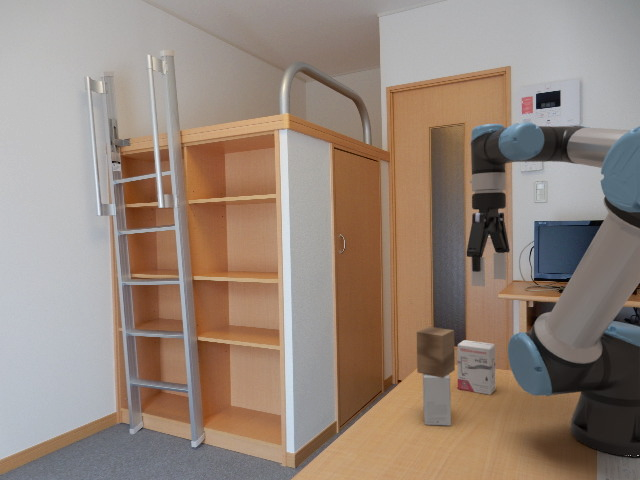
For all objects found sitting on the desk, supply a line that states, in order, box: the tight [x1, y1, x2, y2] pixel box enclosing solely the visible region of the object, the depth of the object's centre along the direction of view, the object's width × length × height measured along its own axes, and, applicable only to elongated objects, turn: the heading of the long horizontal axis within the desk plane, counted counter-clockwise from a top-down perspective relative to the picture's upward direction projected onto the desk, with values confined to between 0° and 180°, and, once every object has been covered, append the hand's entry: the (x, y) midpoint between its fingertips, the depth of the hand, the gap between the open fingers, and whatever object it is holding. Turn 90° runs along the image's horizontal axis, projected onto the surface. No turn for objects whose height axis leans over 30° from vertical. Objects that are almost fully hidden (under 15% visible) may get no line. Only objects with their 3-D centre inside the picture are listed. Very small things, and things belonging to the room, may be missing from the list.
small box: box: [422, 374, 452, 427], centre depth 104 cm, size 8×6×10 cm
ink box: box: [457, 339, 496, 396], centre depth 121 cm, size 9×5×12 cm, turn 55°
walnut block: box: [416, 326, 456, 378], centre depth 104 cm, size 6×6×9 cm
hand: (489, 282), depth 111 cm, fingers open, 13 cm apart
